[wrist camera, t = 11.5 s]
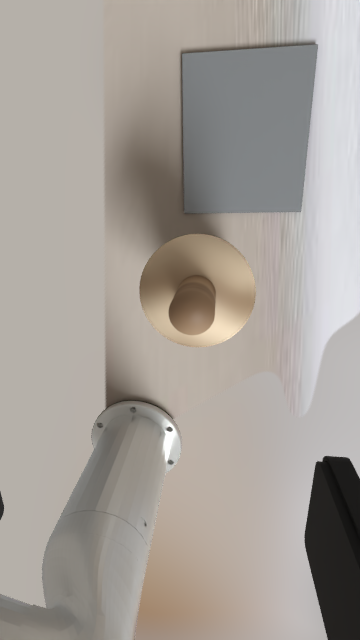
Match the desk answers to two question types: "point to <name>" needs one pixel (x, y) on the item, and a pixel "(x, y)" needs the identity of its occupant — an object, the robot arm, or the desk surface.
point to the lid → (197, 290)
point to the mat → (246, 128)
